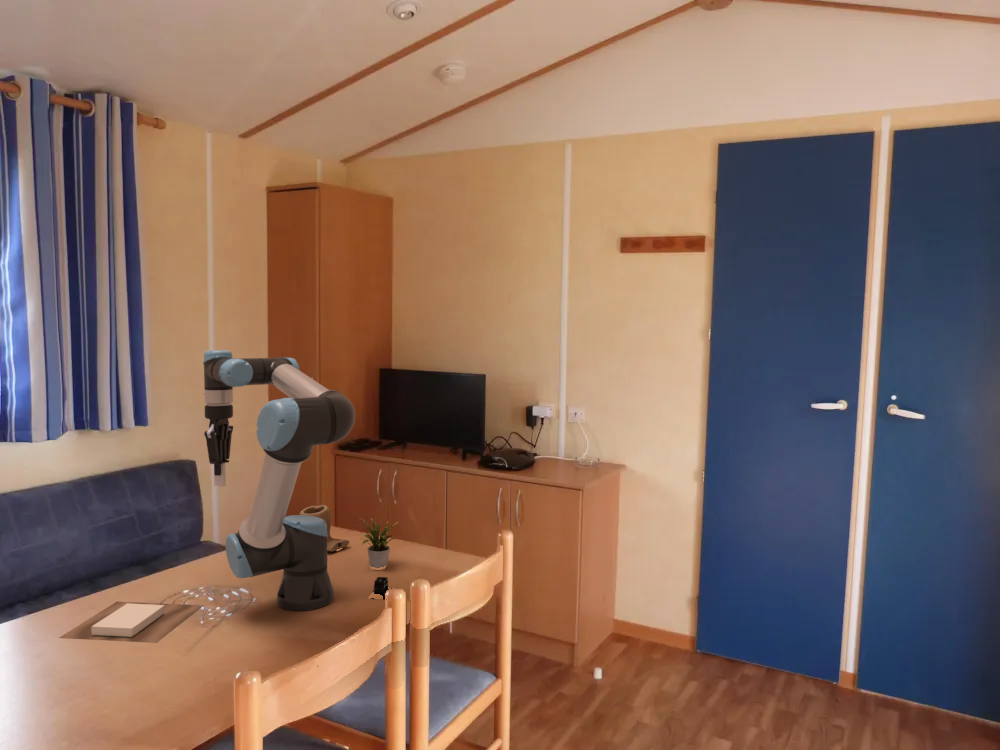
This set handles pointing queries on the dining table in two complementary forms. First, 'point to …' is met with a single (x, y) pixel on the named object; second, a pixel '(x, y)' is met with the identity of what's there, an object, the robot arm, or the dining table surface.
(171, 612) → the board
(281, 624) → the dining table surface
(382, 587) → the black small block
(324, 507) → the tan ankle boot
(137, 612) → the tile
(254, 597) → the dining table surface
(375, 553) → the house plant
